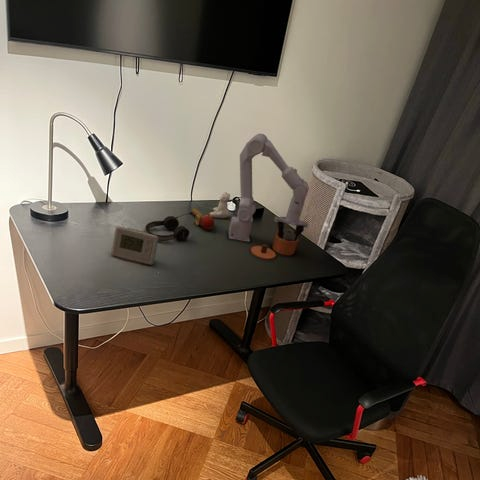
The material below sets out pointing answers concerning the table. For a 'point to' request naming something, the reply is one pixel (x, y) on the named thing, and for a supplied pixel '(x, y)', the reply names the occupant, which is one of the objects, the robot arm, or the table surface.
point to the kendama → (203, 219)
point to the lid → (263, 252)
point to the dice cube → (288, 235)
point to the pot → (284, 245)
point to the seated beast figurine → (221, 207)
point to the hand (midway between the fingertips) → (286, 239)
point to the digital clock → (134, 245)
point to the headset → (169, 228)
